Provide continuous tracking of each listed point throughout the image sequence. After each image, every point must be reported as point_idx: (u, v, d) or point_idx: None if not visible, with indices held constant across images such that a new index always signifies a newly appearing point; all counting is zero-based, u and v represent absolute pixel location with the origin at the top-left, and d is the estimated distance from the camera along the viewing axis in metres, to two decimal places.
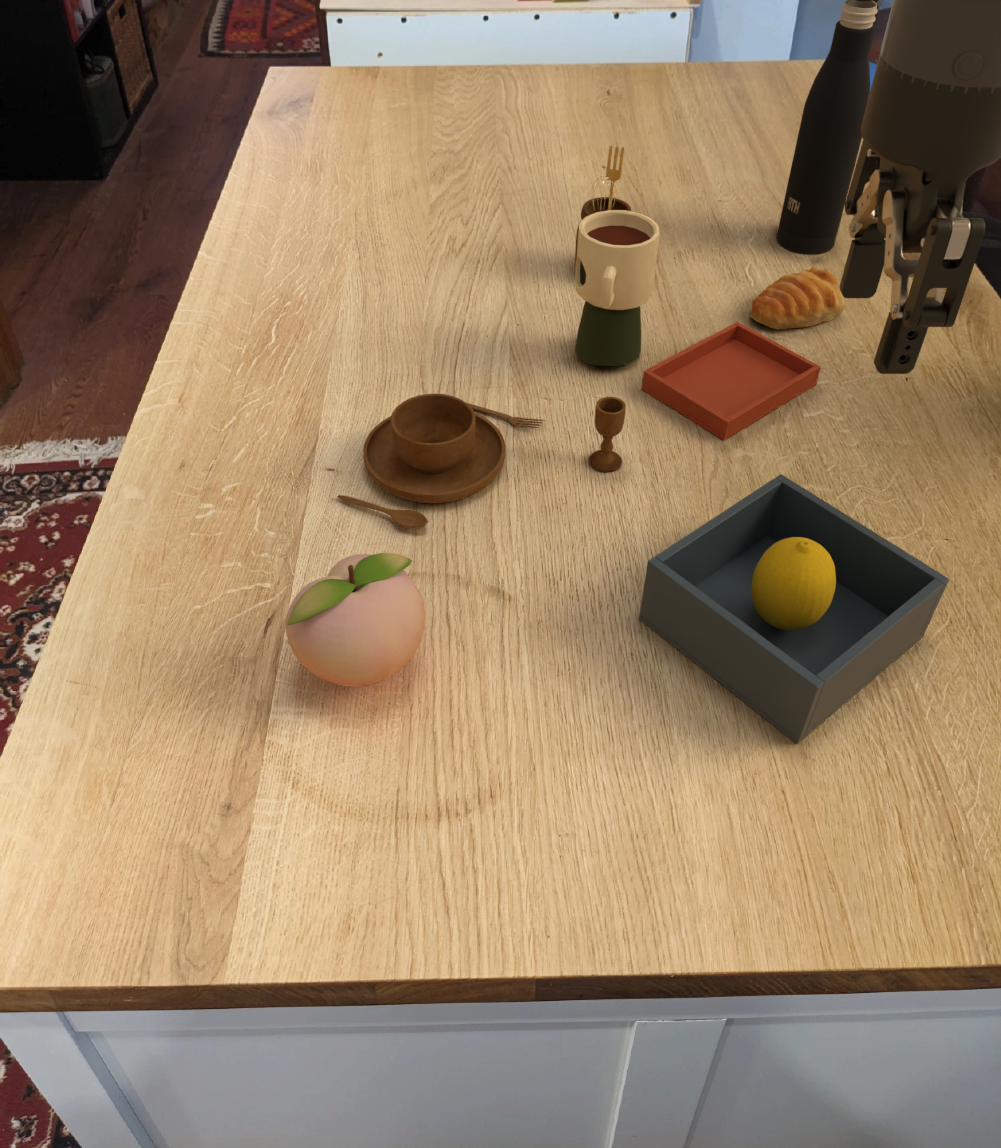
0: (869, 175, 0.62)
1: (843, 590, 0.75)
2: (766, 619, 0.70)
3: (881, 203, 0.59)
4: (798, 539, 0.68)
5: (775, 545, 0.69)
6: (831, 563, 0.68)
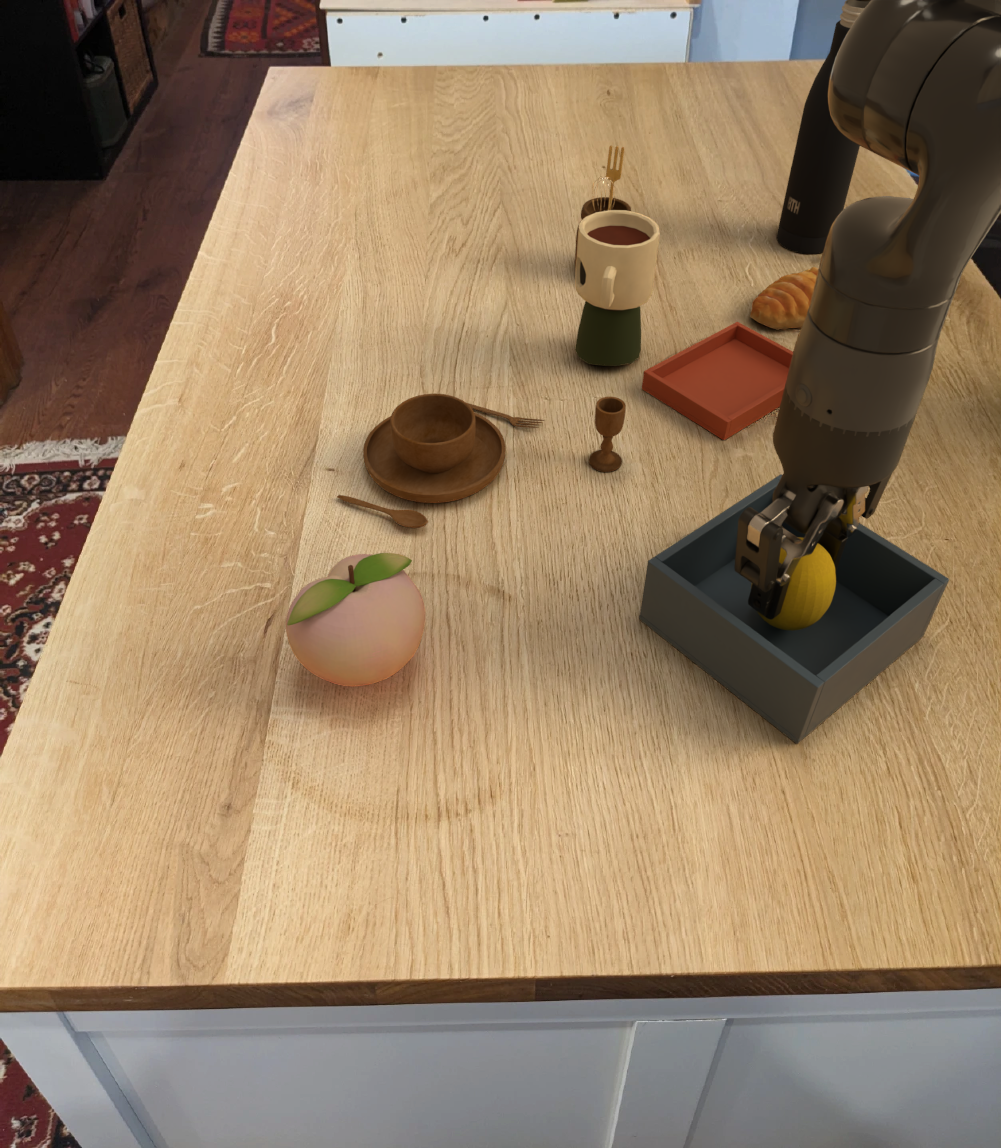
0: None
1: (843, 590, 0.75)
2: (766, 619, 0.70)
3: None
4: None
5: None
6: (831, 563, 0.68)
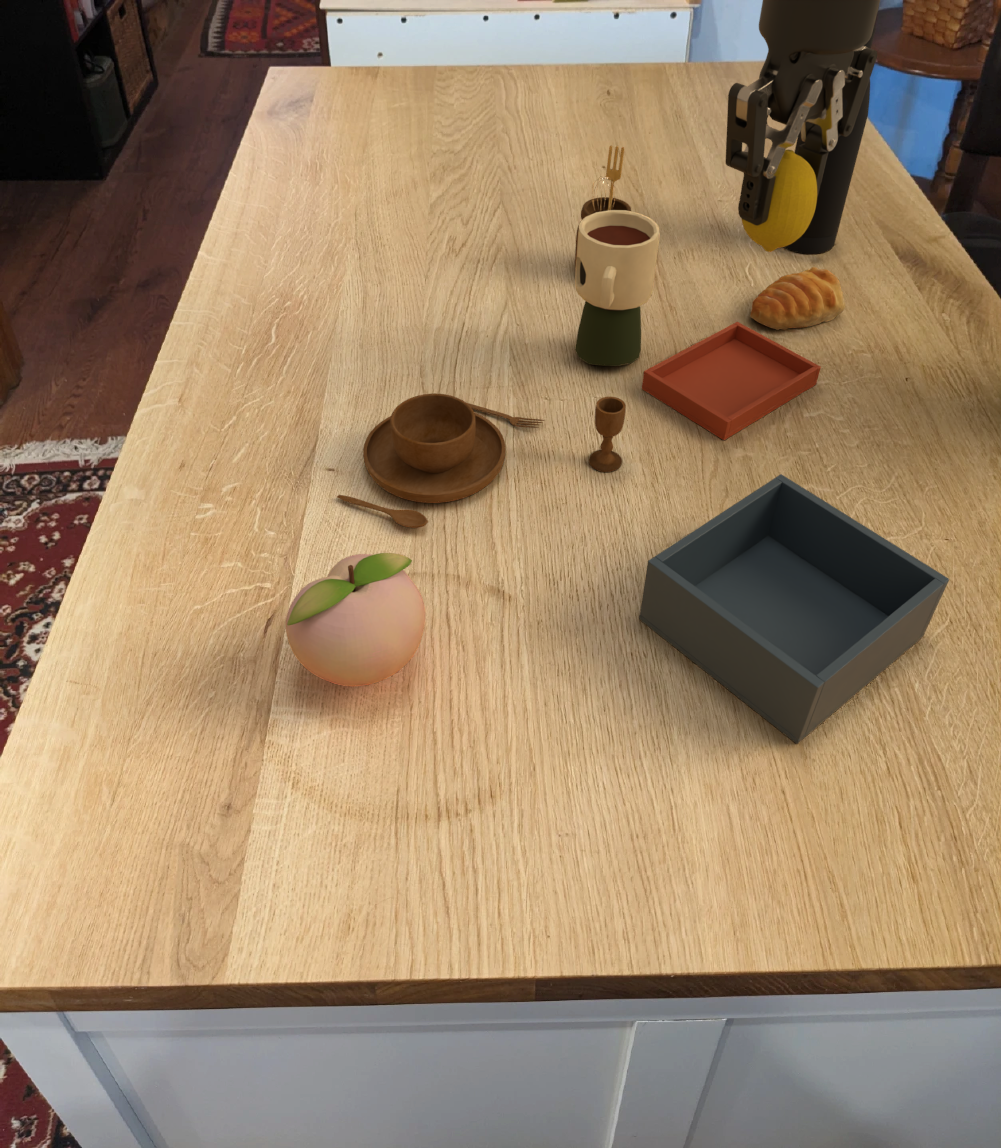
0: None
1: (843, 590, 0.75)
2: (754, 234, 0.78)
3: None
4: None
5: None
6: (812, 171, 0.75)
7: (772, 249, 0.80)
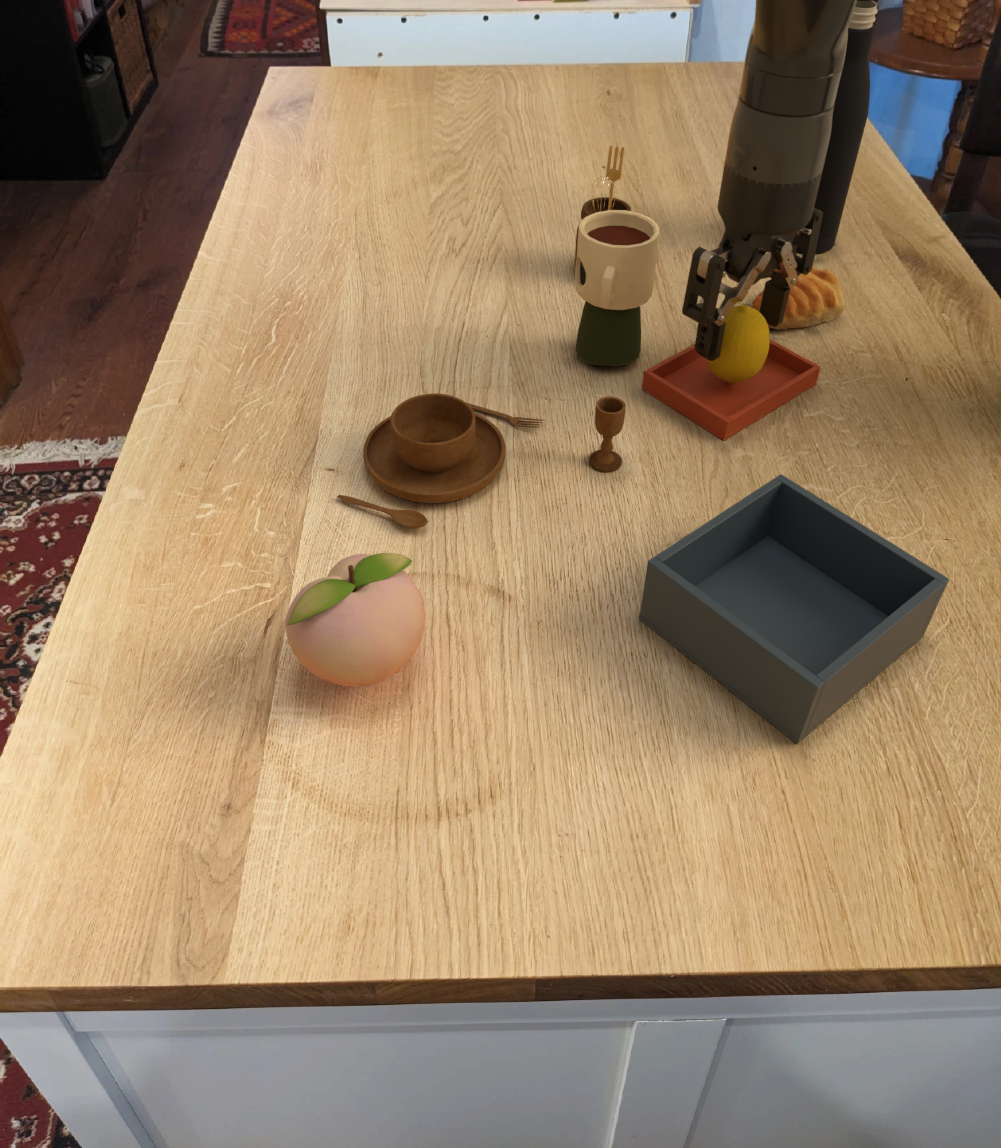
0: None
1: (843, 590, 0.75)
2: (717, 372, 0.91)
3: None
4: (740, 305, 0.89)
5: None
6: (765, 322, 0.89)
7: (732, 382, 0.93)
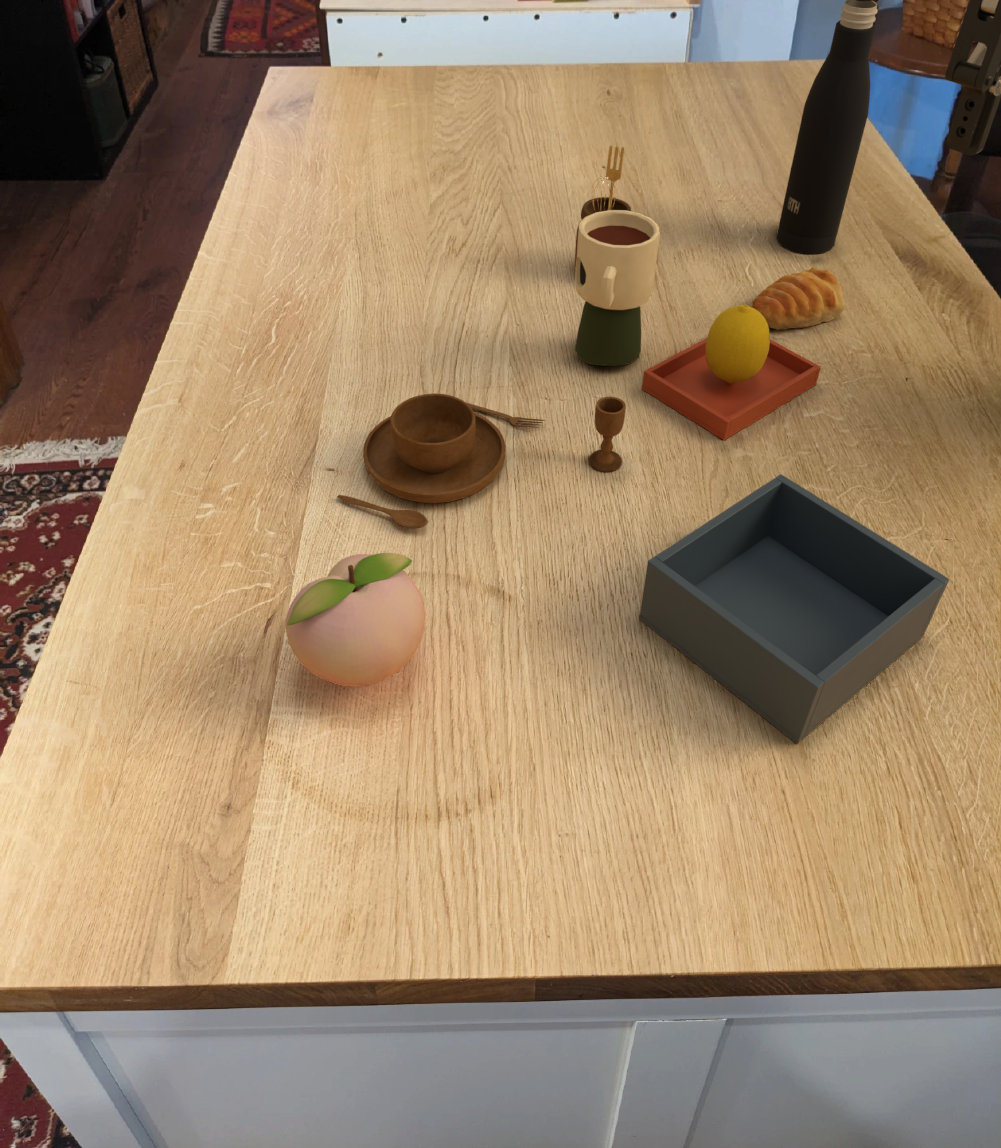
0: None
1: (843, 590, 0.75)
2: (717, 372, 0.91)
3: None
4: (740, 305, 0.89)
5: (723, 311, 0.90)
6: (765, 323, 0.89)
7: (732, 382, 0.93)
